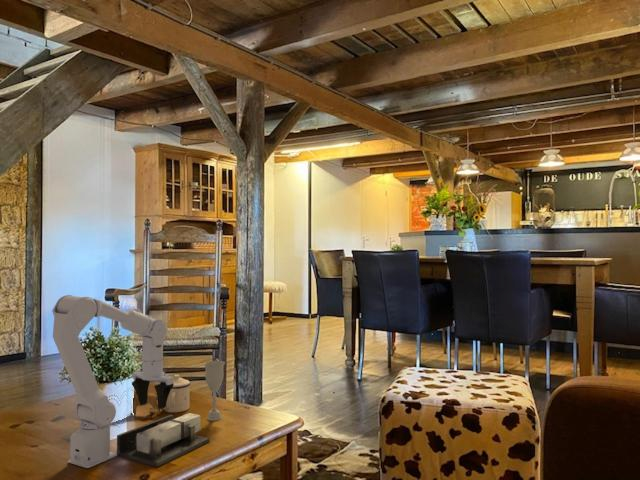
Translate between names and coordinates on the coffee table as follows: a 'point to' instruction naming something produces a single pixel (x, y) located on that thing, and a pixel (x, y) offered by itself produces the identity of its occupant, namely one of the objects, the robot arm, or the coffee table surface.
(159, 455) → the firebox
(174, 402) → the teacup with lid
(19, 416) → the coffee table surface
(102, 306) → the robot arm
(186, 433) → the cream rectangular block
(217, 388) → the chalice
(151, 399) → the lion figurine
